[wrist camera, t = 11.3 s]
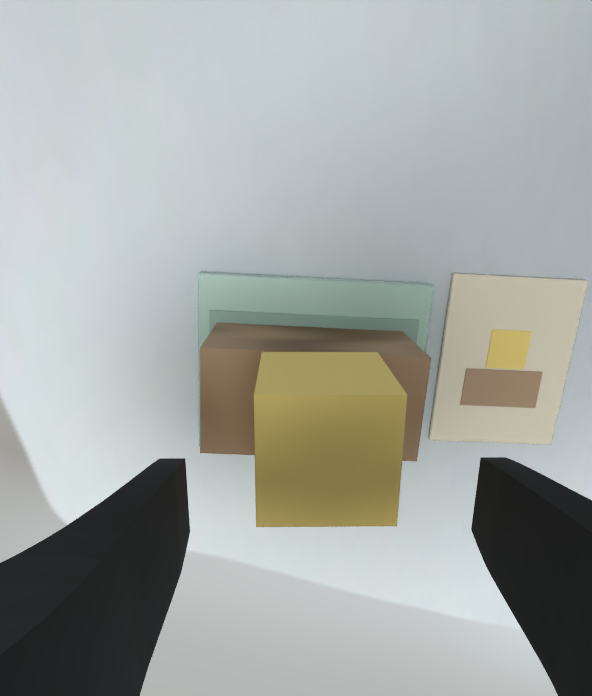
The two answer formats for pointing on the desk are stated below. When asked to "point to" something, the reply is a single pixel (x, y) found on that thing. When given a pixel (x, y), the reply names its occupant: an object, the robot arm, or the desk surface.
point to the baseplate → (313, 304)
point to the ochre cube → (327, 440)
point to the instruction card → (505, 358)
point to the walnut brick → (252, 339)
